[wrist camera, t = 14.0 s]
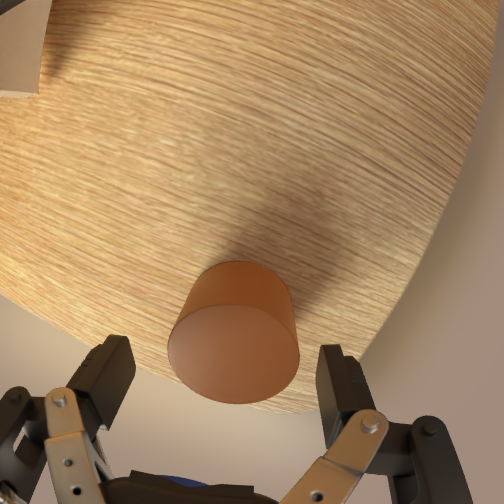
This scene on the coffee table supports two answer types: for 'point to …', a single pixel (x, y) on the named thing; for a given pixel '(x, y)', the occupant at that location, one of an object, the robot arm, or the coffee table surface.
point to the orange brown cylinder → (236, 335)
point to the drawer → (21, 45)
